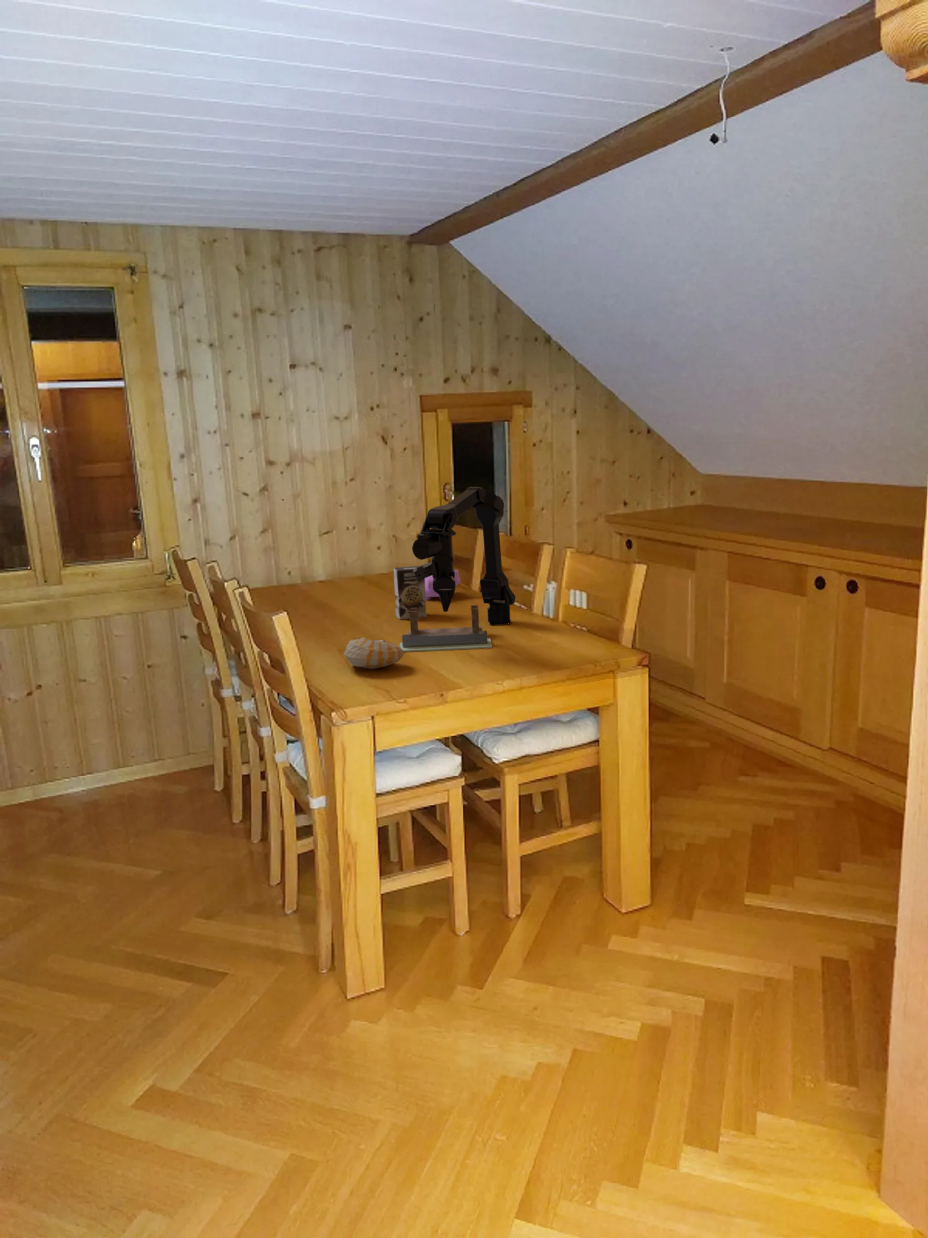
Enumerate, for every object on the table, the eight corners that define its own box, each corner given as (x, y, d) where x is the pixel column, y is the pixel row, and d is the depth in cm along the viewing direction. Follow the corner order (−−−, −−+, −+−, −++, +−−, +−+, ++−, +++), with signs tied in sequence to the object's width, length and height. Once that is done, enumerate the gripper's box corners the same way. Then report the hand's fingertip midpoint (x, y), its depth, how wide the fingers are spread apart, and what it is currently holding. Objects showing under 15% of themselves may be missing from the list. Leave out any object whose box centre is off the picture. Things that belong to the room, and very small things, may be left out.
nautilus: (332, 661, 257) (384, 656, 263) (354, 676, 238) (410, 670, 243) (331, 632, 256) (383, 628, 262) (353, 645, 236) (409, 640, 242)
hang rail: (487, 641, 267) (486, 630, 267) (487, 643, 264) (487, 633, 264) (403, 644, 267) (402, 634, 266) (402, 647, 264) (402, 637, 263)
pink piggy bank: (456, 602, 321) (455, 569, 318) (407, 603, 324) (405, 570, 321) (464, 592, 338) (463, 560, 335) (417, 592, 341) (415, 560, 338)
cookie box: (399, 620, 299) (396, 570, 296) (395, 615, 305) (392, 567, 302) (427, 617, 302) (424, 568, 298) (422, 613, 308) (420, 564, 304)
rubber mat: (490, 640, 270) (490, 638, 270) (491, 648, 262) (491, 646, 261) (400, 644, 270) (400, 642, 270) (398, 652, 261) (398, 650, 261)
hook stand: (481, 631, 280) (480, 603, 278) (483, 638, 273) (481, 609, 271) (408, 634, 280) (407, 607, 278) (407, 641, 272) (406, 613, 270)
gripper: (414, 549, 270) (417, 602, 274) (412, 560, 252) (416, 617, 255) (453, 547, 270) (455, 600, 274) (454, 558, 252) (456, 615, 256)
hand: (445, 607), depth 265 cm, fingers open, 9 cm apart
